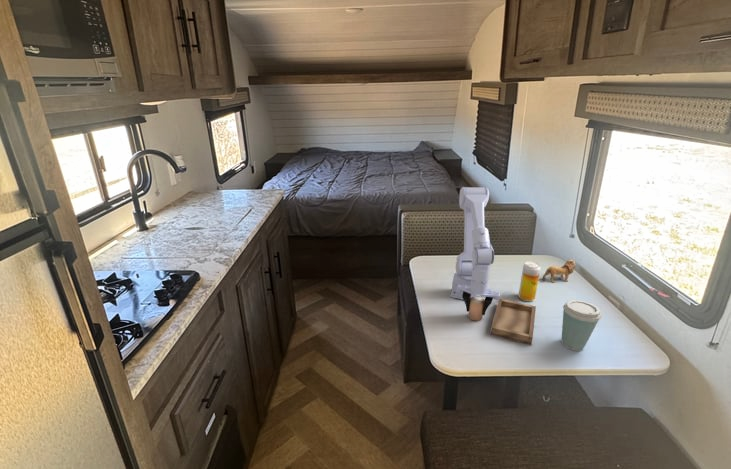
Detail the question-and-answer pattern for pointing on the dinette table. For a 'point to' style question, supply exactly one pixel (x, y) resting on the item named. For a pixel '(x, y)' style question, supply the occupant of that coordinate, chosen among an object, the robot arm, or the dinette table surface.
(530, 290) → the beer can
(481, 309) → the tan and white cylinder
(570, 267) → the lion figurine
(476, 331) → the dinette table surface
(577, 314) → the disposable coffee cup
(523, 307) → the tray
